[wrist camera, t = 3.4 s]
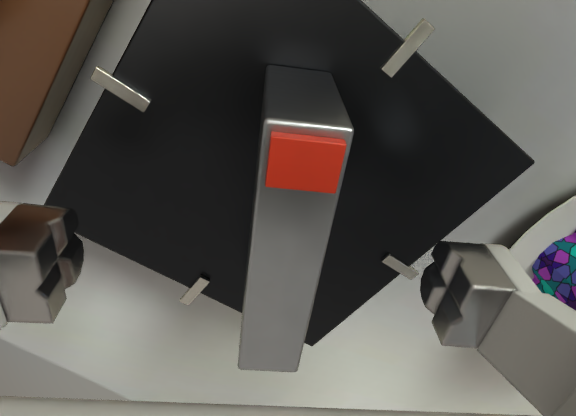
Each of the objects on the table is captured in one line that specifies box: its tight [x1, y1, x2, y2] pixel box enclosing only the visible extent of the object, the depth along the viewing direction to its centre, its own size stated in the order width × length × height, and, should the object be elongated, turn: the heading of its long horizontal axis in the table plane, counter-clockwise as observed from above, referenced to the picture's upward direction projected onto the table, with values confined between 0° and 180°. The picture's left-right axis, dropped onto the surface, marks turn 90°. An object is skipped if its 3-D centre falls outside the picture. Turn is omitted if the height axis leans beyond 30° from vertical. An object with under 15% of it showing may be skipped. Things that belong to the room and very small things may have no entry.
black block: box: [44, 0, 534, 346], centre depth 13 cm, size 11×11×3 cm
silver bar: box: [238, 65, 354, 372], centre depth 10 cm, size 7×2×4 cm, turn 172°
